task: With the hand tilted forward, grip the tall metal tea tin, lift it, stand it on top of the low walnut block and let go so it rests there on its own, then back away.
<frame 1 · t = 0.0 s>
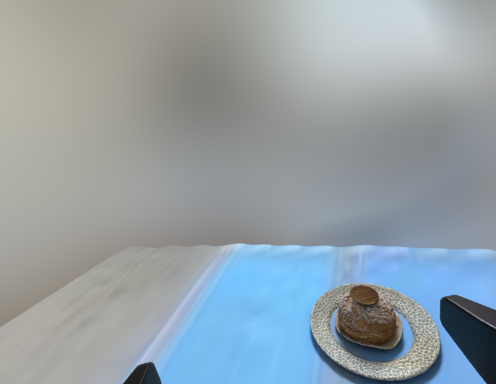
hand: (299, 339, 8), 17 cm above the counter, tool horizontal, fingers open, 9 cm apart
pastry: (369, 331, 27), on the counter
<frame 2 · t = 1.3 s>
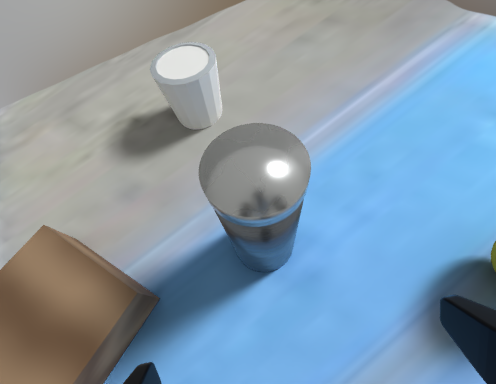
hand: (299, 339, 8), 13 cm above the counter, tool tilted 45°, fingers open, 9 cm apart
walnut block: (69, 325, 21), on the counter
shot glass: (200, 113, 32), on the counter
tea tin: (264, 242, 23), on the counter
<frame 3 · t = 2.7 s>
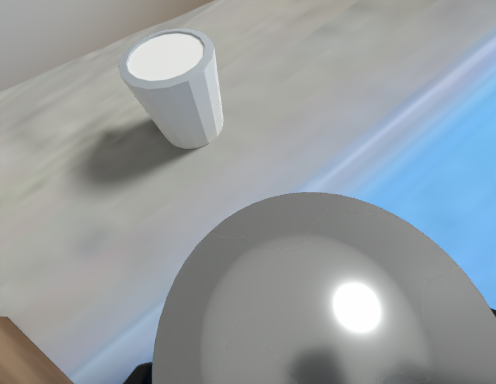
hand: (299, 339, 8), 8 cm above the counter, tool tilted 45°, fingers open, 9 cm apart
shot glass: (194, 126, 24), on the counter
tea tin: (287, 333, 15), on the counter
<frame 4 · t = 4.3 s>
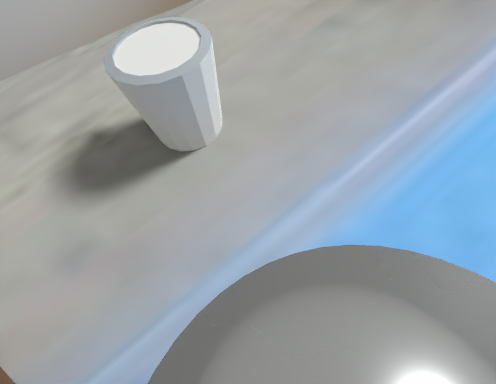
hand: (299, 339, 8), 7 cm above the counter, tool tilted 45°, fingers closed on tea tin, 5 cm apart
shot glass: (191, 127, 22), on the counter
tea tin: (296, 364, 13), on the counter, touching gripper
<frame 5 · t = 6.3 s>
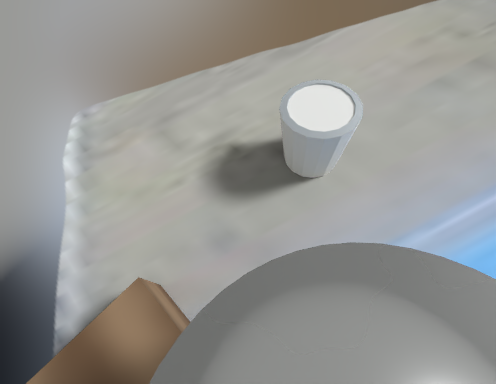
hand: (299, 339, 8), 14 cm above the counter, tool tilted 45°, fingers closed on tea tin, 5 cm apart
shot glass: (310, 156, 27), on the counter
tea tin: (296, 364, 13), point 7 cm above the counter, touching gripper
when the fingers open (12 cm above the counter, at t = 8.2 s): tea tin drops 1 cm, resting on walnut block.
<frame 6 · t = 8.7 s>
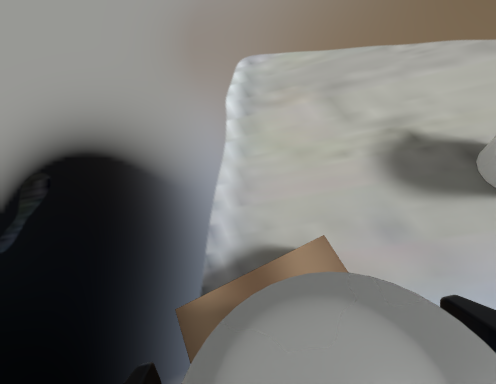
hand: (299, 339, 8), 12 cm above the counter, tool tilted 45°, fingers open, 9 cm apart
walnut block: (290, 354, 18), on the counter
tea tin: (294, 362, 14), point 4 cm above the counter, touching walnut block
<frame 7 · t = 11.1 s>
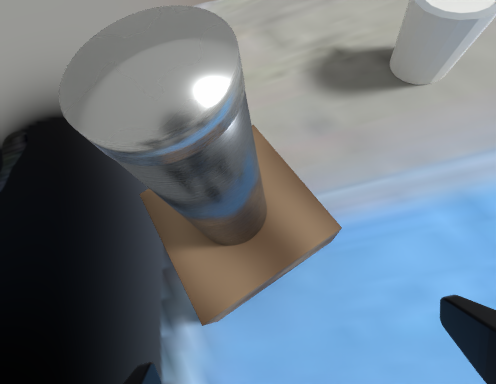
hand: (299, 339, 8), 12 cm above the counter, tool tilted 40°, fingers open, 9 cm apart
walnut block: (240, 224, 22), on the counter
shot glass: (417, 66, 27), on the counter
tea tin: (231, 210, 18), point 4 cm above the counter, touching walnut block
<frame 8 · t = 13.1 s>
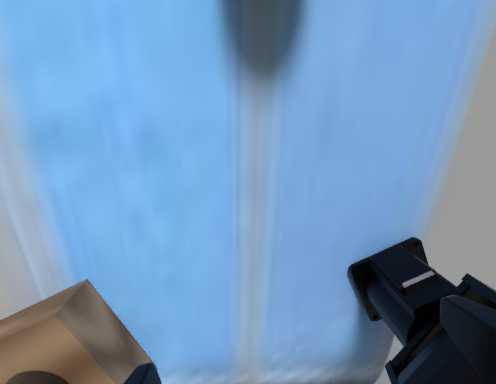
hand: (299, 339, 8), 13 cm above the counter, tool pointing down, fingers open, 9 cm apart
walnut block: (71, 350, 23), on the counter
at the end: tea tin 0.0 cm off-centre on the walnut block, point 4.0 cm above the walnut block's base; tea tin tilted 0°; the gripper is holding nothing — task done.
